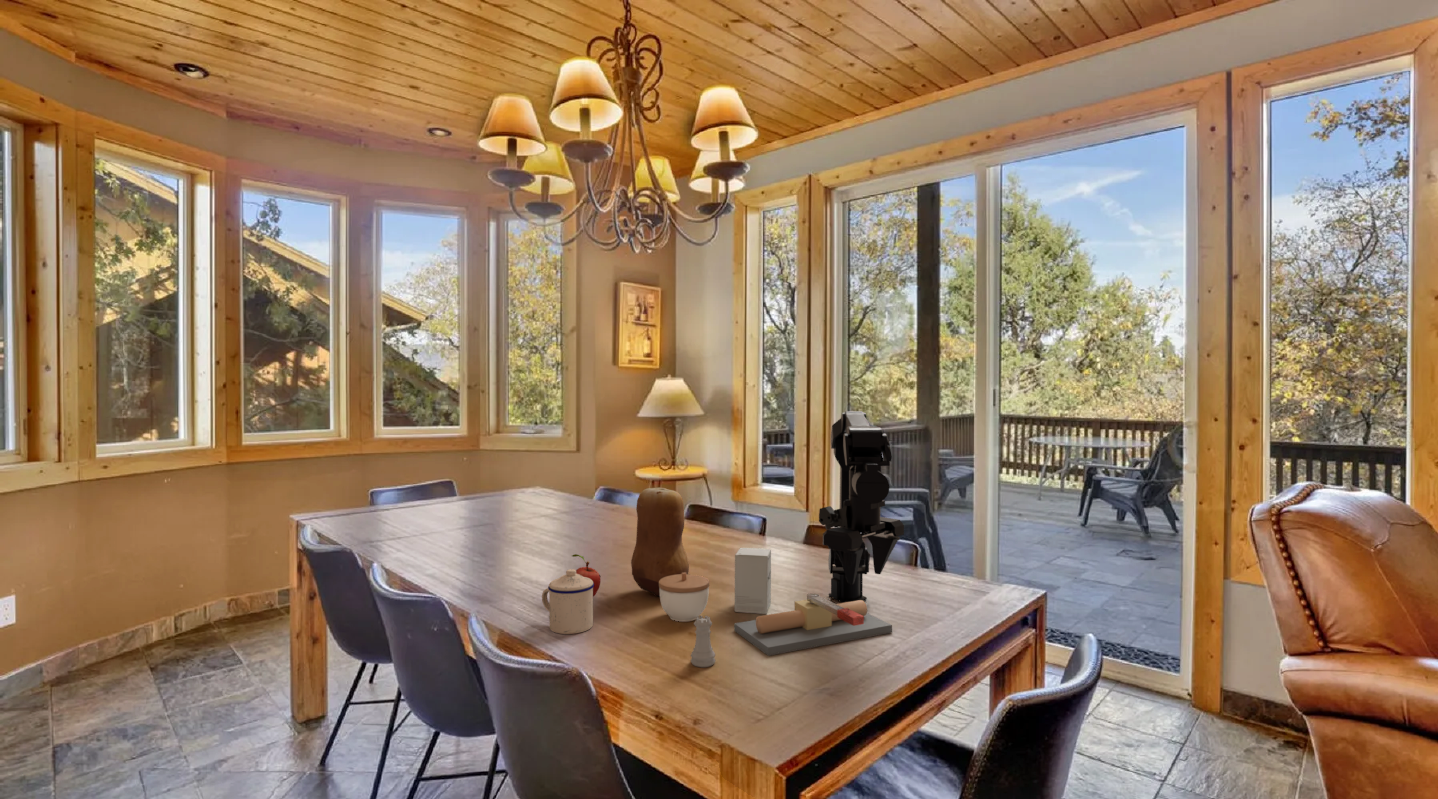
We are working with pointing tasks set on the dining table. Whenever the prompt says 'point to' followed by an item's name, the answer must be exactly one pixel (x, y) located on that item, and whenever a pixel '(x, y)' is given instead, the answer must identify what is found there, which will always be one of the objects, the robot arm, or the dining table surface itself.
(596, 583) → the apple
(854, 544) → the robot arm
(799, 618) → the valve body
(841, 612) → the valve lever
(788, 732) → the dining table surface
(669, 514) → the butternut squash
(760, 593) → the supplement box
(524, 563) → the dining table surface
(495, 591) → the dining table surface
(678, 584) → the lidded jar
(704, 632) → the rook chess piece
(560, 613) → the teacup with lid
